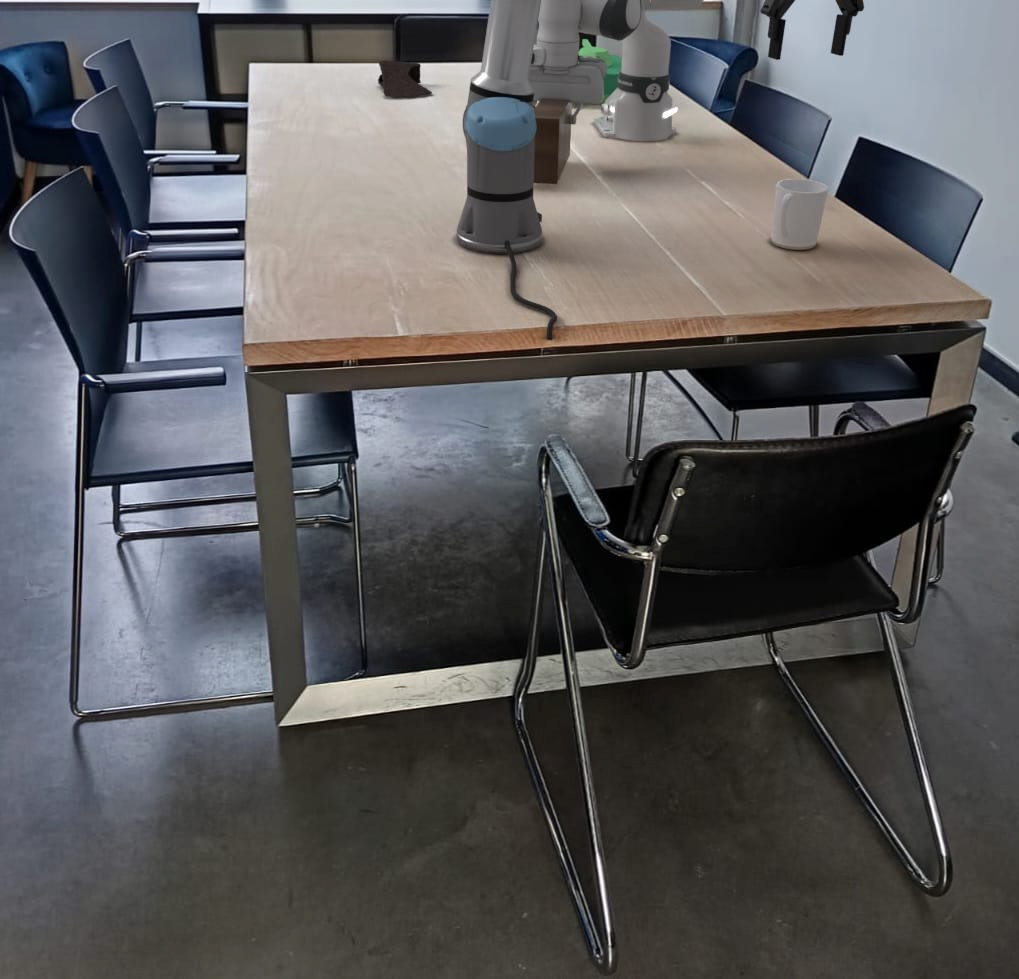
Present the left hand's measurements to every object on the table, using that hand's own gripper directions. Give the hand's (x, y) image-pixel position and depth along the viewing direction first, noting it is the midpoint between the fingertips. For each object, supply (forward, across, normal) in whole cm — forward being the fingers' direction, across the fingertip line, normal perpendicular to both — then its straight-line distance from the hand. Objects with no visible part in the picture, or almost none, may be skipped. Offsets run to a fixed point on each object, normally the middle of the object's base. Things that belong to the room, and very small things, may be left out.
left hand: (805, 56), depth 196 cm
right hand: (+20, +27, -47) cm, 58 cm away
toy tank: (+29, -13, -110) cm, 115 cm away
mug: (+29, +8, +15) cm, 34 cm away
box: (+28, +30, -41) cm, 58 cm away
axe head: (+29, +34, -129) cm, 137 cm away
